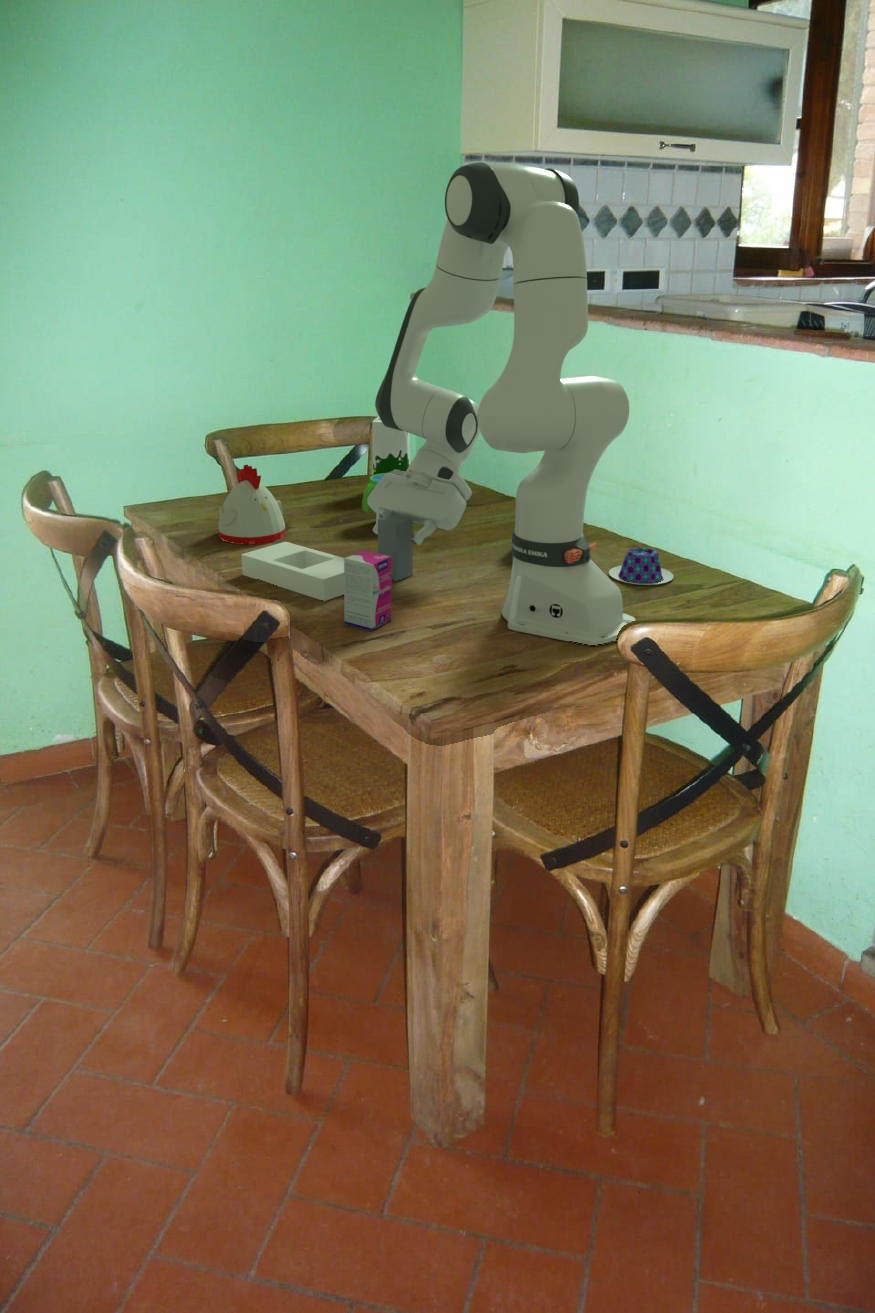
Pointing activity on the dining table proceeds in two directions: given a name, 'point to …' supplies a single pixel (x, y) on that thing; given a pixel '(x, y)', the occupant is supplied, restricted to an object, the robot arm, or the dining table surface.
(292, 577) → the white socket block
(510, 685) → the dining table surface
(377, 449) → the milk carton
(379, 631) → the dining table surface
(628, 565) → the pudding
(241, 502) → the kitchen timer
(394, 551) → the charcoal peg
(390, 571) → the supplement box
